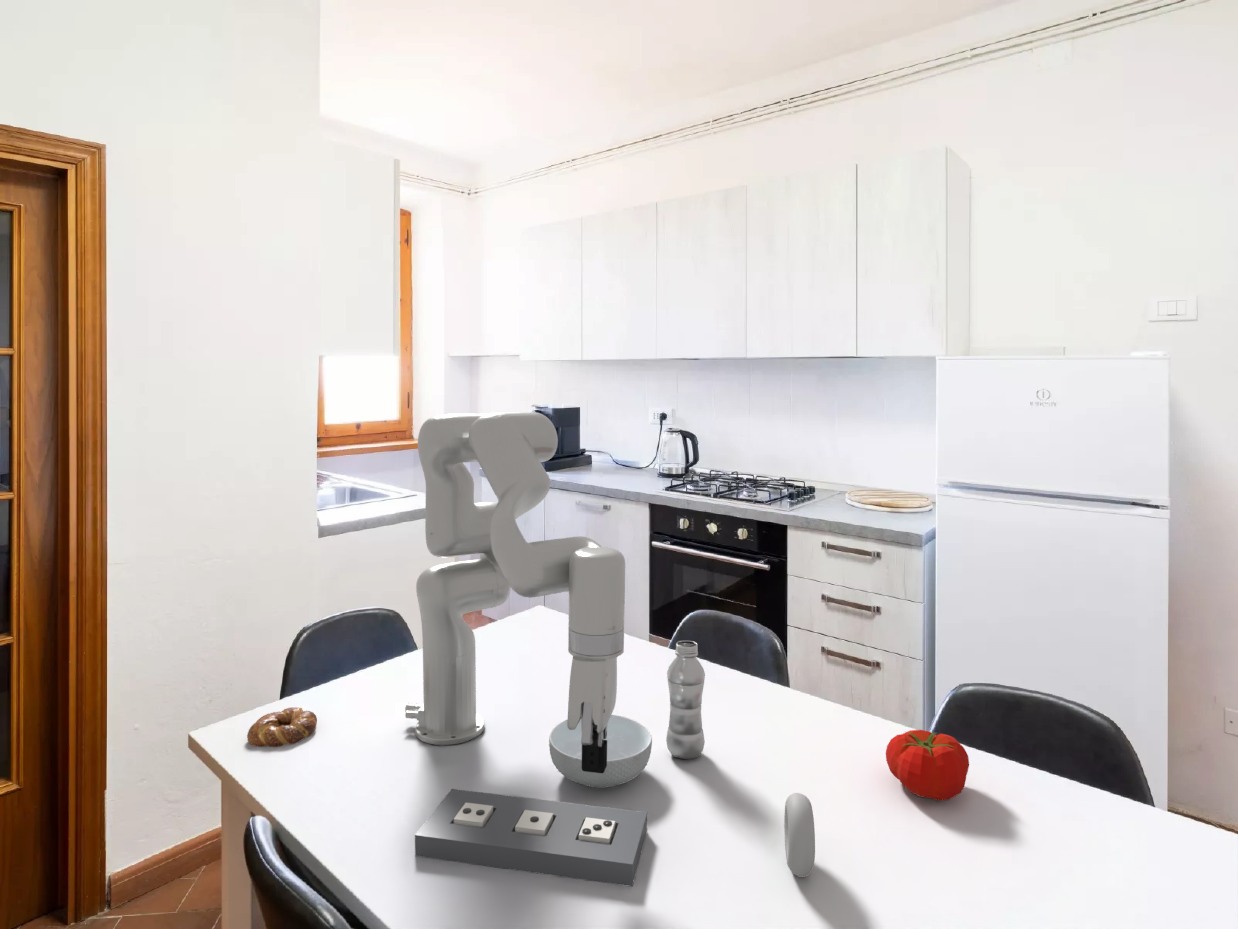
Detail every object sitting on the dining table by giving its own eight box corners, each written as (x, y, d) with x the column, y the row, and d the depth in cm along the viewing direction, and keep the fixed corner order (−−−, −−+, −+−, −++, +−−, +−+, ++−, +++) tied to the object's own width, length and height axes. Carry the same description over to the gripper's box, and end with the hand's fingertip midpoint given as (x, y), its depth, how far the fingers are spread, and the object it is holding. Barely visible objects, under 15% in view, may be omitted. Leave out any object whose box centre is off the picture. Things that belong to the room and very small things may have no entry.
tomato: (904, 760, 127) (907, 711, 126) (980, 788, 118) (983, 736, 117) (867, 789, 117) (869, 737, 116) (947, 822, 108) (950, 765, 107)
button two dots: (453, 835, 102) (453, 817, 102) (465, 818, 106) (465, 801, 106) (482, 838, 101) (482, 821, 101) (493, 821, 105) (493, 804, 105)
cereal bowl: (573, 814, 109) (574, 769, 109) (534, 764, 124) (534, 724, 123) (670, 787, 117) (671, 745, 116) (622, 743, 132) (622, 706, 131)
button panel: (415, 855, 99) (414, 835, 99) (451, 807, 111) (451, 788, 110) (632, 886, 93) (632, 864, 93) (646, 832, 105) (647, 812, 105)
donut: (781, 845, 102) (784, 777, 101) (807, 847, 102) (809, 779, 101) (787, 892, 92) (790, 817, 91) (815, 895, 92) (818, 820, 91)
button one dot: (515, 843, 100) (515, 825, 100) (524, 825, 104) (524, 808, 104) (544, 847, 99) (544, 829, 99) (553, 829, 104) (553, 812, 103)
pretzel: (256, 757, 126) (255, 737, 126) (239, 735, 134) (238, 716, 134) (326, 736, 134) (326, 717, 134) (307, 716, 142) (306, 698, 142)
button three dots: (578, 851, 99) (578, 833, 98) (585, 833, 103) (586, 816, 102) (608, 855, 98) (609, 837, 97) (615, 837, 102) (615, 819, 102)
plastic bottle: (702, 765, 124) (705, 651, 122) (663, 761, 125) (665, 648, 124) (705, 748, 130) (708, 639, 129) (668, 744, 132) (670, 636, 130)
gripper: (582, 620, 106) (581, 741, 108) (553, 657, 92) (552, 795, 93) (633, 624, 105) (630, 746, 107) (612, 662, 90) (609, 802, 92)
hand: (594, 769), depth 100 cm, fingers closed
